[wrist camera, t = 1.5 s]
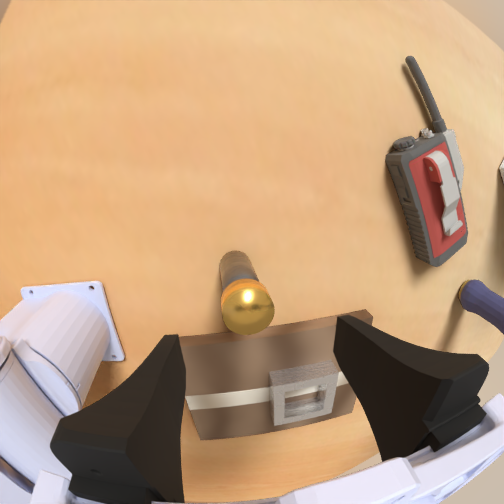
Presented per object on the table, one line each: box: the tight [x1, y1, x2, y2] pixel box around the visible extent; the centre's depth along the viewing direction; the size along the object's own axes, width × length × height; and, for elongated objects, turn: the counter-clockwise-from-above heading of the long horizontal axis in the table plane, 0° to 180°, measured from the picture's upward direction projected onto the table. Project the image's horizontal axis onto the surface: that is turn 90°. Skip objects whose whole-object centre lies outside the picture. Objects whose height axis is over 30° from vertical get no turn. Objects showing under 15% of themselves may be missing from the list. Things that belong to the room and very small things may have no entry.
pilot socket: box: [269, 360, 339, 426], centre depth 24 cm, size 6×6×2 cm
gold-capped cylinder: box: [220, 251, 274, 335], centre depth 18 cm, size 3×3×8 cm
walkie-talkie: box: [385, 56, 468, 267], centre depth 20 cm, size 9×4×20 cm
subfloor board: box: [179, 309, 373, 440], centre depth 25 cm, size 18×14×2 cm
